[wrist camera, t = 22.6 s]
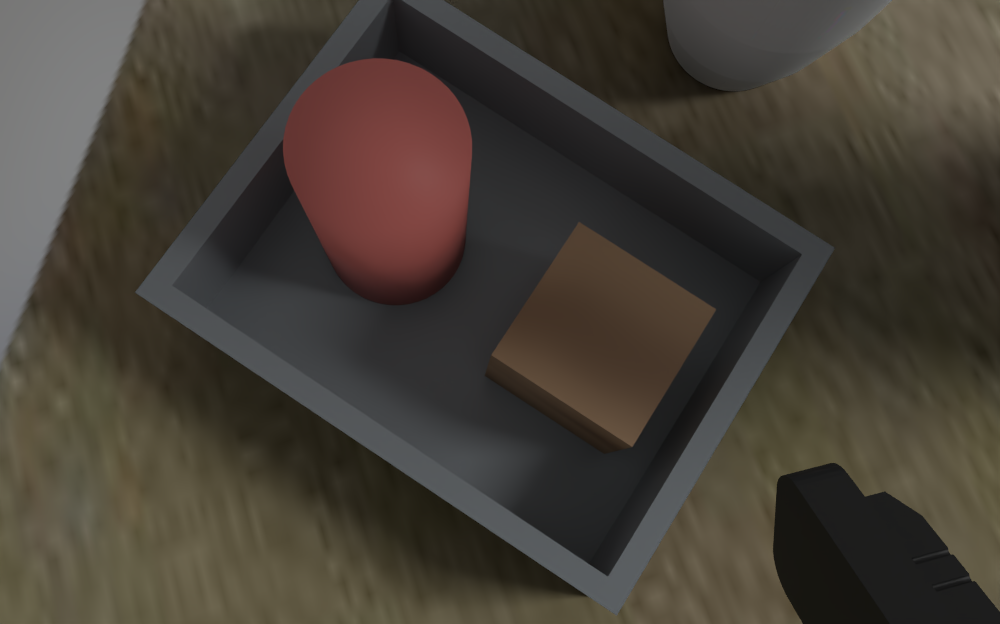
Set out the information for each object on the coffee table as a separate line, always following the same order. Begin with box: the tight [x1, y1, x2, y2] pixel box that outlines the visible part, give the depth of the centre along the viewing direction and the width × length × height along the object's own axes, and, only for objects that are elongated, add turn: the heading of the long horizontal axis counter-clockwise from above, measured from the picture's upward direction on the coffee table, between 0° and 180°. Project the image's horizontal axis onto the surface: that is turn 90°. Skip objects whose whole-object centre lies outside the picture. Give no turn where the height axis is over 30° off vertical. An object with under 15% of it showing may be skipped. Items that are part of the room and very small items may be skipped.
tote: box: [135, 0, 835, 615], centre depth 32 cm, size 14×18×5 cm
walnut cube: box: [485, 222, 716, 454], centre depth 30 cm, size 5×5×5 cm
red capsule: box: [283, 58, 472, 305], centre depth 29 cm, size 5×5×9 cm
